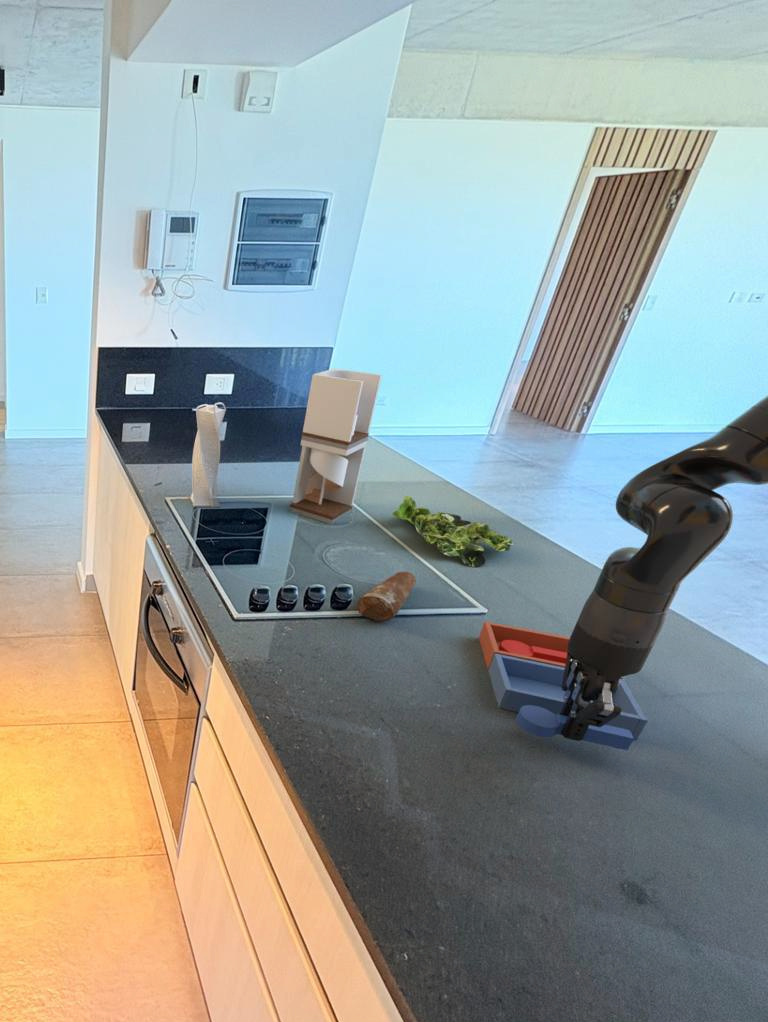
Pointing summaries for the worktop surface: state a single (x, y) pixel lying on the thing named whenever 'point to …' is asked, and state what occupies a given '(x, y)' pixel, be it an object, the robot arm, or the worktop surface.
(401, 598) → the brown rounded cylinder
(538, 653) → the red spoon
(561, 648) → the red bin
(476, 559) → the lettuce
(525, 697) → the blue bin
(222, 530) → the worktop surface
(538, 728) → the blue spoon
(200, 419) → the skyscraper
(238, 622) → the worktop surface
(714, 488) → the robot arm
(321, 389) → the white tiered shelf stand
